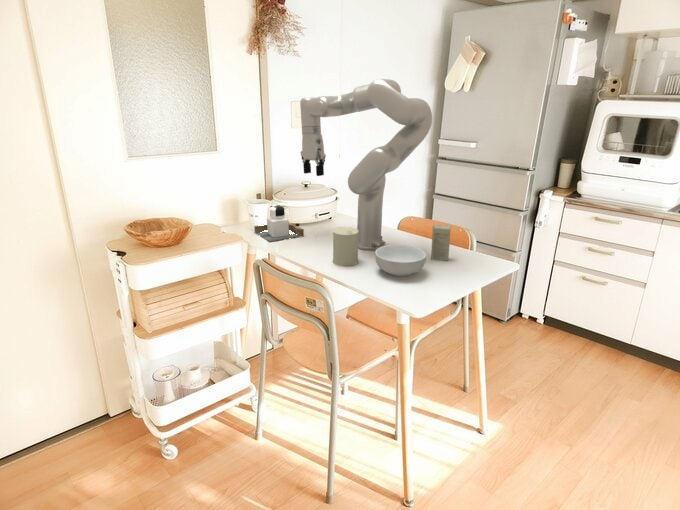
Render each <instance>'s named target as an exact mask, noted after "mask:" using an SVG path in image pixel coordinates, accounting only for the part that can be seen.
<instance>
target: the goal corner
mask: <svg viewBox="0 0 680 510" xmlns="http://www.w3.org/2000/svg"><path fill="white" fill-rule="evenodd" d="M289 222H290V221H288V226H289V230H291V231H292V232H294V233H295V234H293V235H292V234H291V235H290V234H289V235H288V236H282V237H275V238H273V237H272V236H271V235H269V234H268V232H262V231H264V230H267V225H264V224H263V225H264V226H258V225H254V226H253V228H254V234H256V233H257V234H256V235H258V236H259V235H260V236H259V237H260V238H262V239H264V240H265V241H267V242H269V243H274V242H279V240H281V241H284V239H286V240H290V239H289V238H291V239H295V238H294V237H297V238H301V237H300V236H302V237H304V236H305V234H304V233H305V232H304V229H303V228H301V227H300V226H297V225H296V224H294V223H292V222H290V223H289ZM260 232H262V233H260ZM296 234H297V235H296Z"/></svg>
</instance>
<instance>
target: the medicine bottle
mask: <svg viewBox="0 0 680 510" xmlns="http://www.w3.org/2000/svg"><path fill="white" fill-rule="evenodd" d="M285 213H286V212H285V208H284V206H282V205H275V206H271V207H269V217H266V224H267V230H268V234H269V235H271V236H272V237H273V238H275V237H282V236H288V235H289V226H288V222H289V219H288V218H286V217H285Z"/></svg>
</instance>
